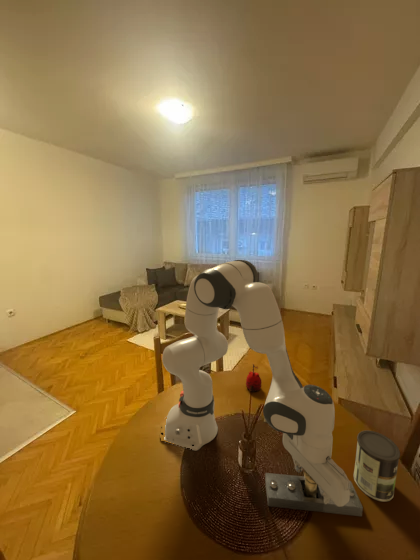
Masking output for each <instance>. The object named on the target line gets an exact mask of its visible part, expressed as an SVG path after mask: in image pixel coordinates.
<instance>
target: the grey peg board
mask: <svg viewBox="0 0 420 560" xmlns="http://www.w3.org/2000/svg"><path fill="white" fill-rule="evenodd" d="M264 479H265V480H264V481H265V490H266V498H267V506H268V507H274V508H275V507H276V508H284V509H292V510H299V511H300V510H301V511H309V512H310V511H311V512H318V513H319V512H320V513H326V514H327V513H328V514H336V515H344V516H345V515H346V516H354V517H355V516H356V517H363V512H364V511H363V509H364V508H363V505H362V503H361V501H360V500H361V499H360V498H359V496H358V494H357V491H356V489H355V487H354V485H353V482H352V480H349V481H350V485H349V488H350V499H349V502H348V503H347V504H345V505H344V506H342V507H338V506H337V505H336V504H335V503H334V502H333V501H332V500H331V499H330V501H329V503H327V504H325V503H324V502H323V501H322V500H321V494H322V493H324V491H323V490H322V489H321V487H320V486H319V485H318V484H317V494H316V495H317V497H318V498H317V497H316V498H308V497H304V490H303V489H305V477H304V475H303V476H302V475H291V474H282V473H273V472H272V473H271V472H265V477H264Z"/></svg>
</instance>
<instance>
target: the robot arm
mask: <svg viewBox="0 0 420 560" xmlns="http://www.w3.org/2000/svg"><path fill="white" fill-rule="evenodd" d="M258 275H259V274H258V271H257V268H256V267H255V265H254V264H253V263H252V262H251V261H248V260H245V259H235V260H233V261H232V260H231V261H227V262H222V263H220V264H218V265H216V266H214V267H212V268H207V269H205V270H203V271H202V272H200V273H199V274H197V275H196V276H194V277H193V279H192V280H191V281H190V284H189V288H188V291H187V296H186V302H185V314H184V325H185V326H184V327H185V328H186V330H187V331H188V332H189V333H191V334H192V335H193V336H190V337H188V338H183V339H180V340H177V341H175V342H172V343H171V344H169V345H167V346H165V348H164V349H163V352H162V356H161V357H162V358H161V359H162V364H163V367H164V368H165V370H166V371H167V372H168V373H170V374H171V375H174V376H176V377H178V378H179V380H180V381H181V384H182V389H183V390H181V391H180V393H179V399H178V403H177V404H174V405H173V406H172V407H171V408H170V410H169V411H168V413H167V415H166V417H167V419H166V425H165V437H164V440H166V441H168V442H171V443H174V444H176V445H175V446H177V445H179V446H178V447H180V446H182V448H184V447H186V448H185V449H187V448H190V449H189V450H191V449H192V451H195V452H196V451H200V449H201V448H202V447H203V446H204V445H206V444H208V443H210V442H211V441H213V440H214V439H215V437H216V436H217V434H218V430H219V428H218V424H217V422H216V418H215V417H216V416H215V398H214V396H215V395H214V393H213V380H212V377H211V375H210V373H208V372H206V371H204V370H201V367H203V366H206V365H208V364H212V363H213V362H216V361H218V360H219V359H221V358H222V357H224V356H225V355H226V354H227V353H228V350H229V349H228V348H229V343H228V339H227V338H226V336H225V335H224V333H222V332H220V331H219V329H218V327H217V324H218V315H219V309H222V310H229V309H231V308H232V307H233V308H234V309H235V310H236V311H237V313H238V316H239V320H240V325H241V329H242V333H243V336H244V339H245V342H246V344H247V345H248V348H249V349H251V350H252V351H254V352H256V353H259V354H264V355H265V354H266V357H267V360H268V363H269V367H270V370H271V374H272V376H271V377H272V379H271V381H270V386H269V390H268V393H267V396H266V399H265V403H264V405H263V407H262V408H263V409H262V414H263V419H264V418H265V420H266V421H267V424H268V426H269V427H271V428H272V429H273V430H275V431H277V432H278V433H282V445H283V447H284V449H285V450H286V451H287V452H288V453H289V454H290V456H291V458H292V461H293V464H294V470H295V471H296V472H297V473H298V474H300V473H301V472H303V470H304V471H306V472H307V473H308V474H309V475H310V476H311V477H312V479H313V480H314V481H315V482H316V483H317V484H318V485H319V486H320V487H321V489H322V490H323V491H324V493H322V494H321V500H322V501H323V502H324V503H325V504H327V503H329V501H330V499H331V500H332V501H333V502H334V503H335V504H336V505H337V506H338V507H342V506H344V505H345V504H347V503H348V502H349V499H350V488H349V485H350V481H351V480H349V478H348V476H347V473H346V472H345V471H344V469H343V468H341V467H340V466H339V465H338V464H337V463H336V462H335V461H334V459H332V452H333V441H334V440H333V439H334V437H333V431H334V429H335V418H336V417H335V413H336V411H335V403H334V400H333V398H332V396H331V395H330V394H329V393H328V391H326V390H325V389H323V388H322V387H320V386H317V385H315V384H306V385H304V386H303V384H302V382H301V381H300V379H299V378H298V376H297V375H296V373H295V372H294V369H293V367H292V364H291V360H290V357H289V353H288V349H287V347H286V337H285V329H284V324H283V323H284V322H283V320H282V318H283V317H282V314H281V311H280V308H279V304H278V302H277V299H276V296H275V295H274V292H273V290H272V288H271V287H270V286H269V285H268V284H267V283H264V282H260V281H258V279H259V278H258V277H259V276H258ZM192 445H194V446H192Z"/></svg>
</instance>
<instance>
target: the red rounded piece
mask: <svg viewBox="0 0 420 560" xmlns="http://www.w3.org/2000/svg"><path fill="white" fill-rule="evenodd" d="M255 368H256V369H258V368H259V367H258V366H255V364H254V363H252V371H249V372H248V374H247V376H246V379H245V380H246V382H245V386H246V388H247V389H248V391H249V392H259V391H260V390H261V388H262V378H261V376H260V373H259V372H255Z"/></svg>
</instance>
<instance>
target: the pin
mask: <svg viewBox="0 0 420 560" xmlns="http://www.w3.org/2000/svg"><path fill="white" fill-rule="evenodd" d="M303 476H304V477H305V488H303V489H304V490H303V494H304V497H308V498H317V495H318V494H317V483H316V482H315V481H314V480H313V479H312V477H311V476H310V475H309V474H308V473H307V472H306V471H305V470H304V472H303Z"/></svg>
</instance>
